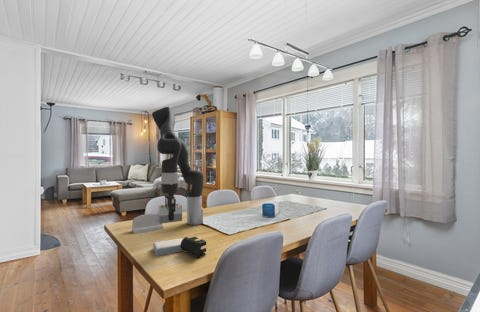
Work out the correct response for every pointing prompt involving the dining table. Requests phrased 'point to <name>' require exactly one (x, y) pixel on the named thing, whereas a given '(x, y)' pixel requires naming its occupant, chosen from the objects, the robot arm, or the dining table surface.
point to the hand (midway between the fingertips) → (170, 218)
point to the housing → (164, 214)
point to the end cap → (193, 246)
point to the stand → (167, 247)
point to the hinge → (146, 223)
